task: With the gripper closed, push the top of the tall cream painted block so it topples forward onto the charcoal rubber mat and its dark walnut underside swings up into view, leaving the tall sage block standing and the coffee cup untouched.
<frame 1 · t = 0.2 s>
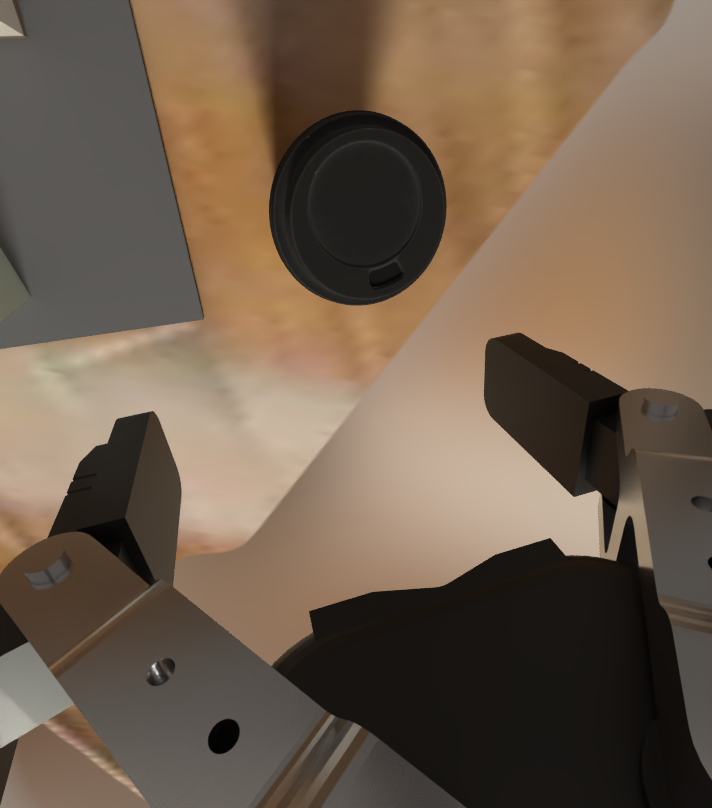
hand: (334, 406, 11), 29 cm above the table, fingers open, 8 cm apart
coffee cup: (314, 196, 36), on the table
mat: (34, 156, 30), on the table
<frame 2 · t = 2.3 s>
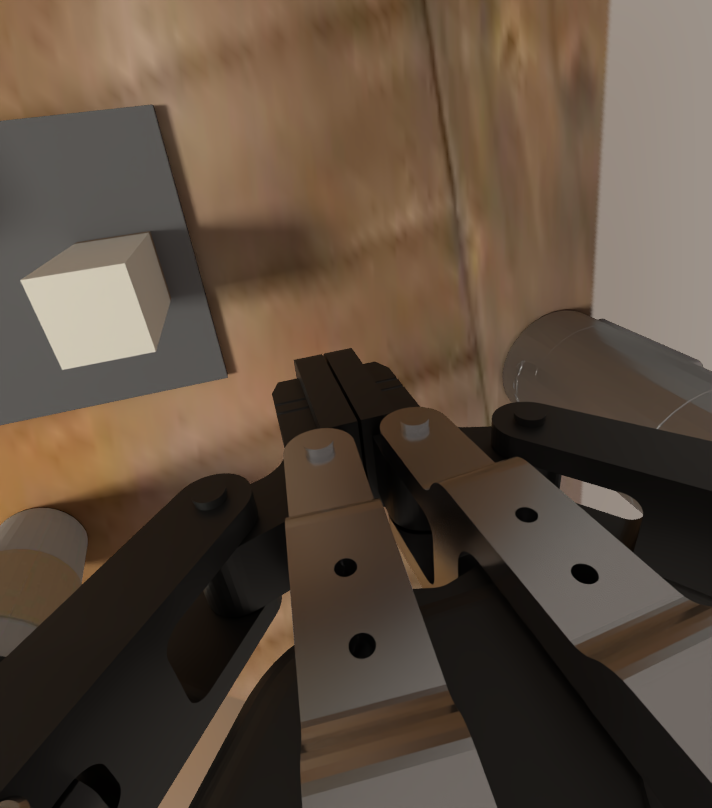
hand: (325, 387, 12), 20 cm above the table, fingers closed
cream block: (126, 271, 28), point 1 cm above the table, touching mat
coffee cup: (46, 535, 35), on the table
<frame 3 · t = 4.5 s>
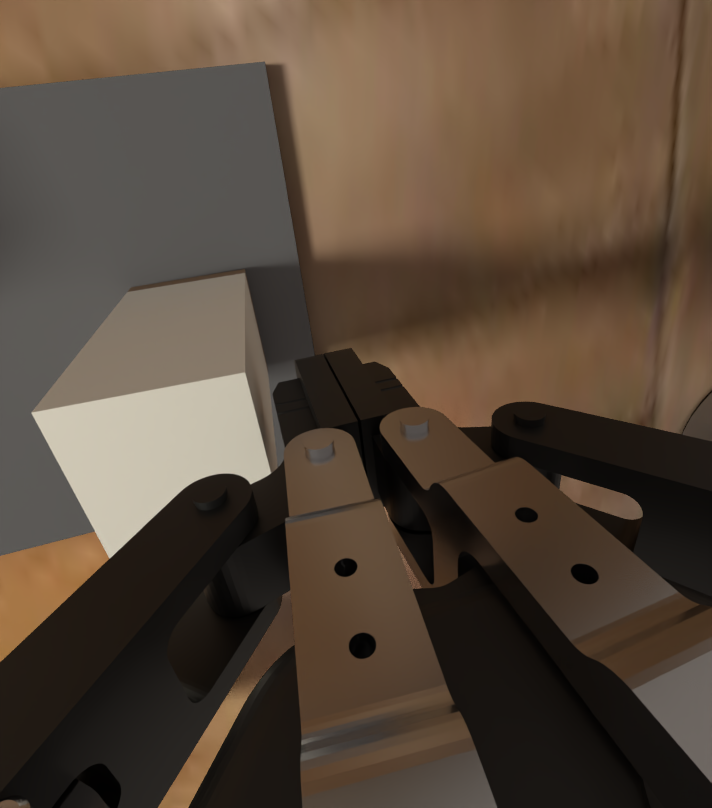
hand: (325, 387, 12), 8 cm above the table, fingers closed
cream block: (204, 330, 18), point 1 cm above the table, touching gripper, mat
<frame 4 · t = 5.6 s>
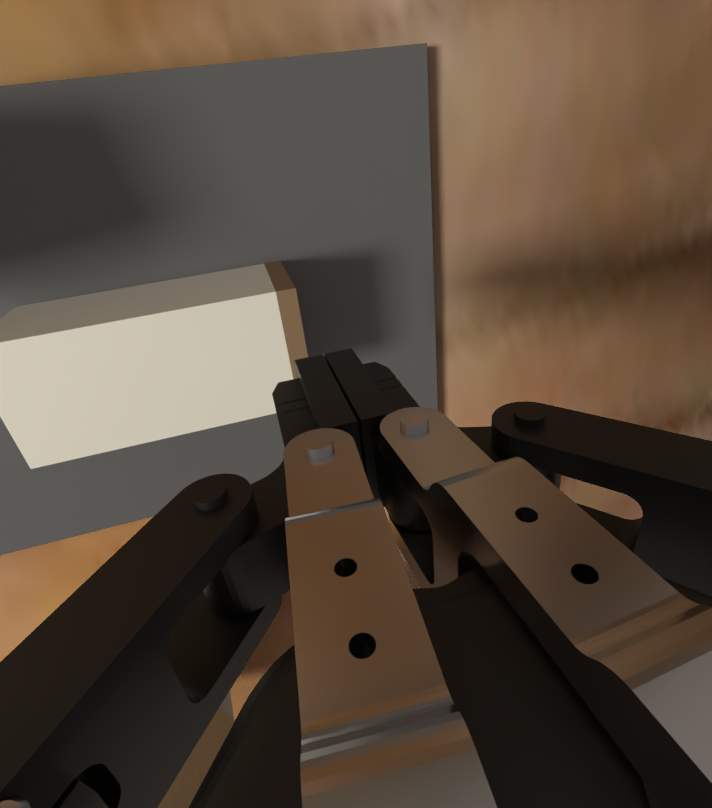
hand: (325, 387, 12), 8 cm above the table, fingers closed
cream block: (297, 329, 17), point 3 cm above the table, tilted 90°, touching mat
coffee cup: (171, 649, 26), on the table
mat: (132, 337, 18), on the table
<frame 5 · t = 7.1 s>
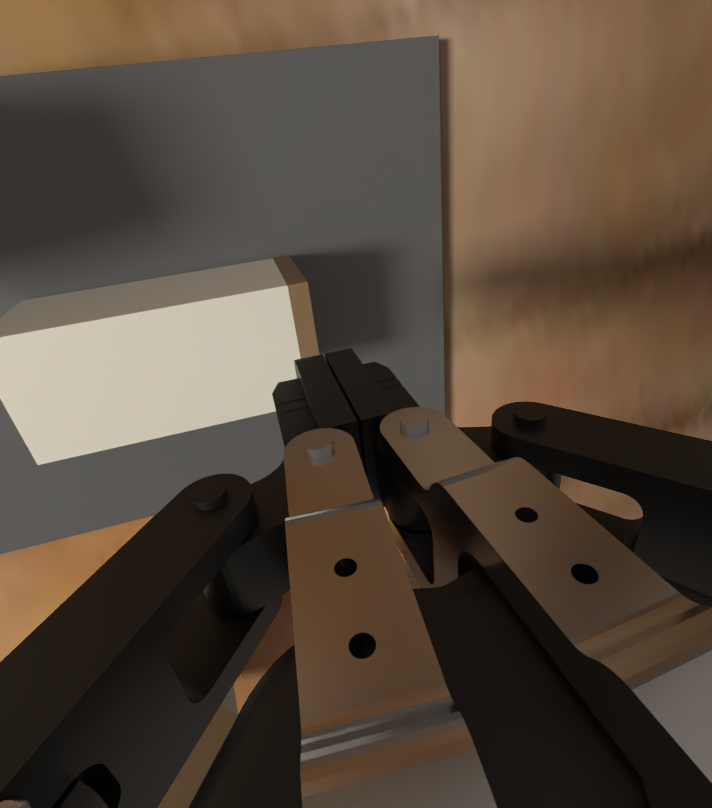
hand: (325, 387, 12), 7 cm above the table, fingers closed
cream block: (306, 324, 16), point 3 cm above the table, tilted 90°, touching mat
coffee cup: (174, 648, 26), on the table
mat: (139, 333, 18), on the table
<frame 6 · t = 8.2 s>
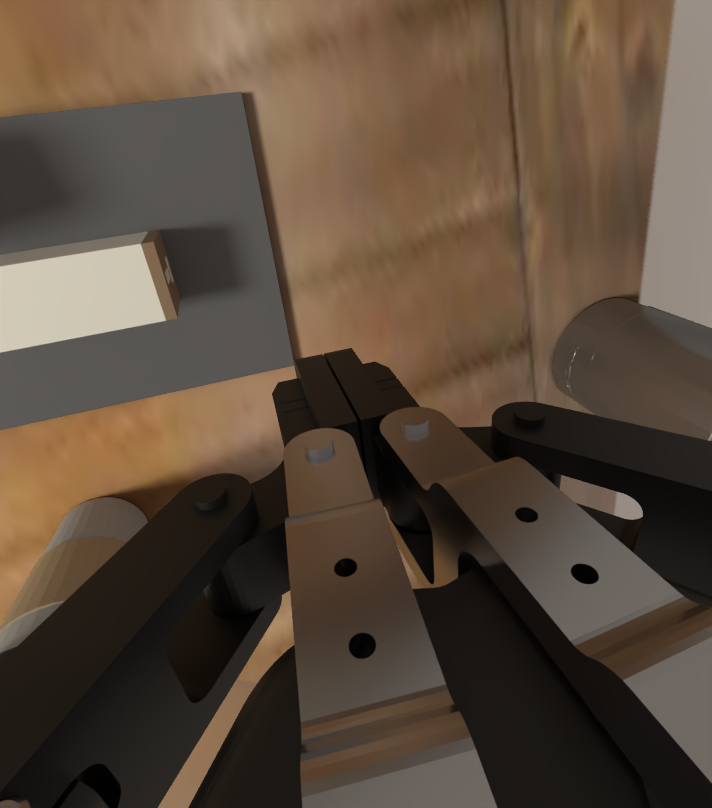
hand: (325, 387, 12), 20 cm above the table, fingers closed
cream block: (168, 272, 26), point 3 cm above the table, tilted 90°, touching mat
coffee cup: (108, 525, 36), on the table
mat: (63, 281, 27), on the table
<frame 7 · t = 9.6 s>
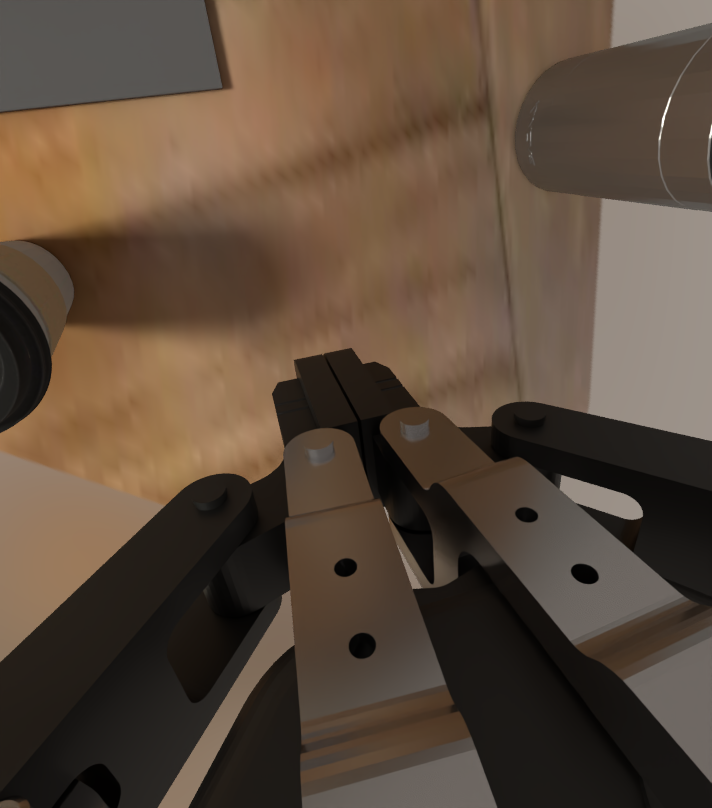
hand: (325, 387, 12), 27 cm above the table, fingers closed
coffee cup: (29, 282, 33), on the table
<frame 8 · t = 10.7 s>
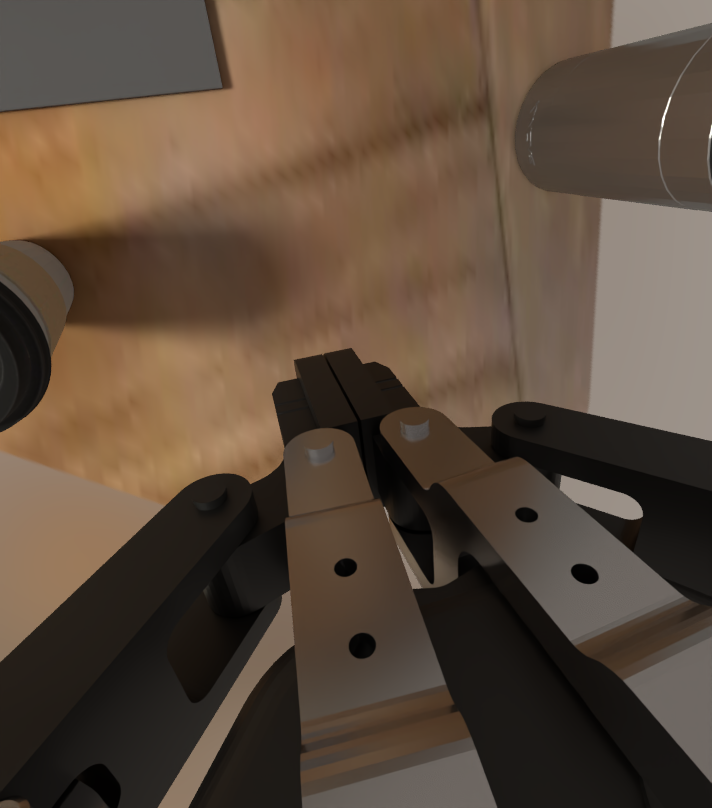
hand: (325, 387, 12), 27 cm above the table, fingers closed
coffee cup: (29, 282, 33), on the table
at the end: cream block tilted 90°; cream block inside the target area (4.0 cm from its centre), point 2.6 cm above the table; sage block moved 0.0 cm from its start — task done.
